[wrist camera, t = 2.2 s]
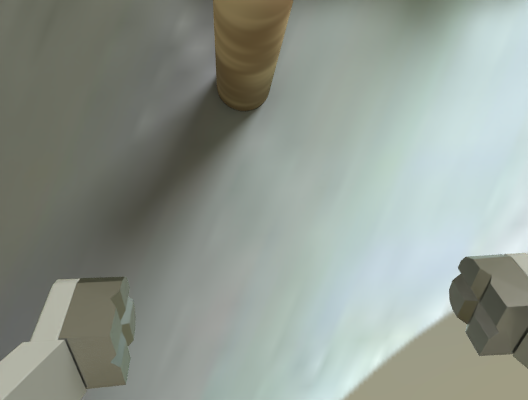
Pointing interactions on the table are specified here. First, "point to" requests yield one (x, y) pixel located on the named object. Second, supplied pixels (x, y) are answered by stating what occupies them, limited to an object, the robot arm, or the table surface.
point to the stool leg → (248, 48)
